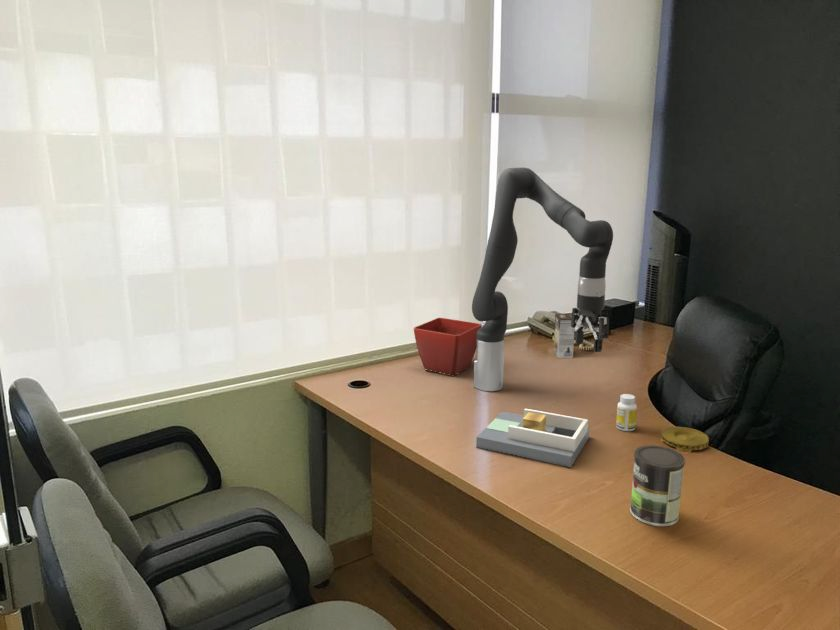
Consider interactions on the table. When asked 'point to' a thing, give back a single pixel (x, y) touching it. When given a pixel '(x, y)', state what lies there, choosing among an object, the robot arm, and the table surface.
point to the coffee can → (657, 485)
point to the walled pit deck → (536, 437)
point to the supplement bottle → (626, 413)
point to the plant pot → (446, 344)
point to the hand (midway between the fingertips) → (588, 347)
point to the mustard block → (535, 421)
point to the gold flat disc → (685, 438)
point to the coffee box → (563, 336)
